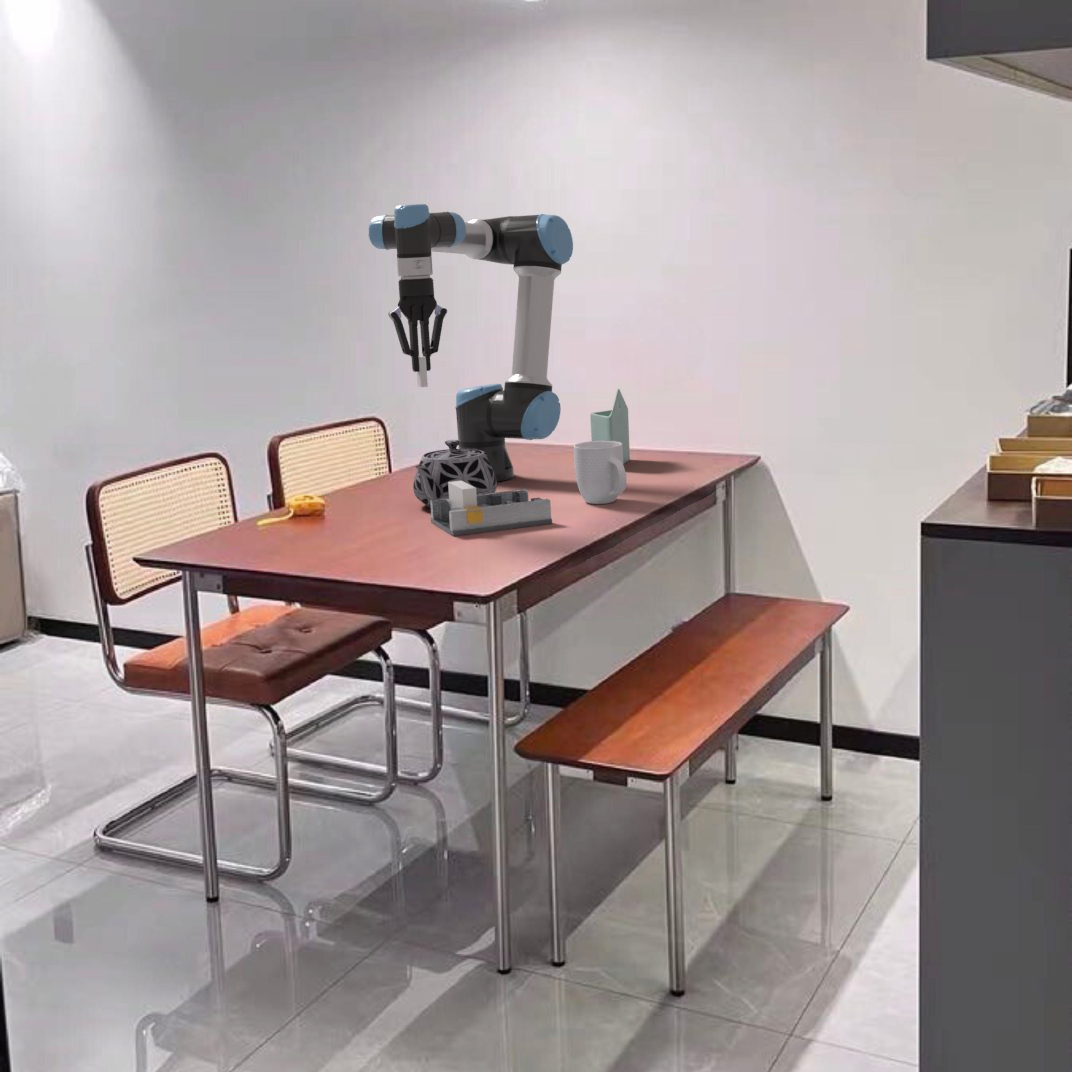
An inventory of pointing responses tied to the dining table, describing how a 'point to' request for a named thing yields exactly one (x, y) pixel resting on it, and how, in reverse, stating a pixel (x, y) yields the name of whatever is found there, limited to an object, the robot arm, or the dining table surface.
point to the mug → (599, 470)
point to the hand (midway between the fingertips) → (422, 386)
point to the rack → (491, 513)
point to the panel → (461, 495)
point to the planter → (612, 425)
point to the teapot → (452, 472)
